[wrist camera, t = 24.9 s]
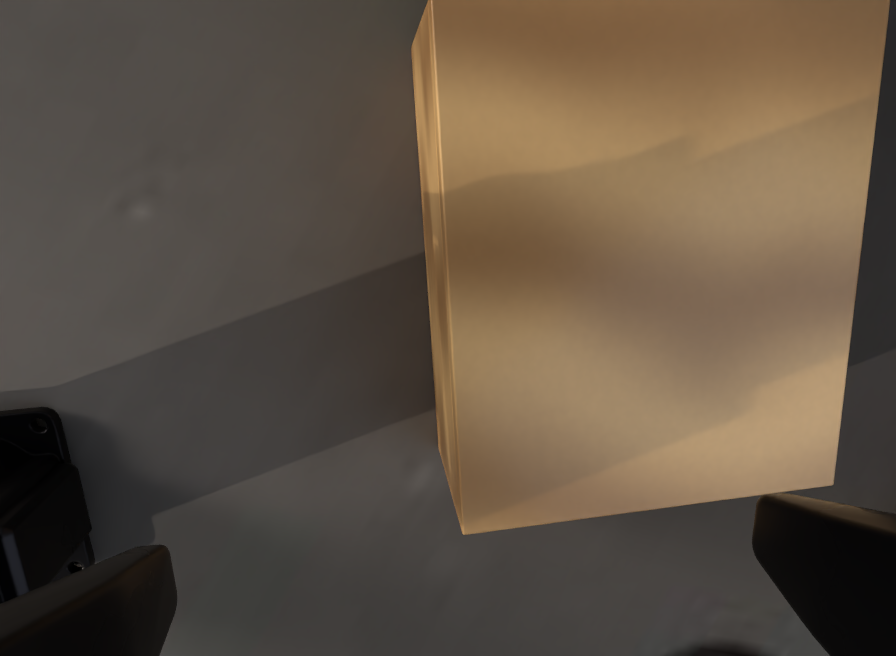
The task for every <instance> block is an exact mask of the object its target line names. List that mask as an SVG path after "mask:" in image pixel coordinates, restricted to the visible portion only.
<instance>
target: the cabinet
mask: <svg viewBox="0 0 896 656" xmlns="http://www.w3.org/2000/svg"><path fill="white" fill-rule="evenodd" d="M889 8H890V0H428V2H427V5H426V8H425V10H424V13H423V16H422V19H421V22H420V24H419V27H418V30H417V33H416V35H415V38H414V41H413V44H412V47H411V52H412V67H413V81H414V96H415V110H416V125H417V139H418V154H419V168H420V183H421V197H422V212H423V226H424V241H425V255H426V270H427V284H428V299H429V314H430V328H431V343H432V357H433V372H434V386H435V401H436V415H437V430H438V444H439V451H440V454H441V458H442V462H443V465H444V469H445V473H446V476H447V480H448V483H449V487H450V490H451V494H452V498H453V501H454V505H455V508H456V512H457V516H458V519H459V522H460V526H461V530H462V533H463V535H467V534H474V533H482V532H489V531H497V530H504V529H511V528H519V527H526V526H534V525H541V524H549V523H556V522H563V521H571V520H578V519H586V518H593V517H600V516H608V515H615V514H623V513H630V512H638V511H645V510H652V509H660V508H667V507H675V506H682V505H690V504H697V503H704V502H712V501H719V500H727V499H734V498H741V497H749V496H756V495H764V494H771V493H779V492H786V491H793V490H801V489H808V488H816V487H823V486H831V485H833V484H834V476H835V467H836V459H837V450H838V442H839V433H840V425H841V416H842V408H843V399H844V391H845V382H846V374H847V365H848V357H849V348H850V340H851V331H852V323H853V314H854V306H855V297H856V289H857V280H858V272H859V263H860V255H861V246H862V238H863V229H864V220H865V212H866V203H867V195H868V186H869V178H870V169H871V161H872V152H873V144H874V135H875V127H876V118H877V110H878V101H879V93H880V84H881V76H882V67H883V59H884V50H885V42H886V33H887V25H888V16H889Z"/></svg>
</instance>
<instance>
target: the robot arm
mask: <svg viewBox="0 0 896 656" xmlns="http://www.w3.org/2000/svg"><path fill="white" fill-rule="evenodd" d="M37 418H39V419H43V420H44V421H45V422H46V423H47V428H44V427H41V426H40V425H39V424H38V423H37ZM91 529H92V527H91V523H90V519H89V514H88V510H87V506H86V502H85V498H84V494H83V489H82V485H81V481H80V477H79V473H78V469H77V468H76V467H75V466H74V465H73V464H72V463H71V459H70V455H69V451H68V447H67V443H66V439H65V435H64V431H63V426H62V422H61V419H60V417H59V415H58V413H57V412H55V411H54V410H53V409H50V408H48V407H37V408H27V409H17V410H7V411H0V656H159V655H160V652H161V650H162V647H163V644H164V642H165V639H166V636H167V633H168V631H169V628H170V625H171V622H172V620H173V617H174V614H175V611H176V606H177V590H176V585H175V579H174V573H173V568H172V562H171V557H170V552H169V550H168V548H167V547H166V546H164V545H149V546H139V547H135V548H133V549H130V550H128V551H125V552H123V553H121V554H118V555H116V556H113V557H111V558H109V559H106V560H104V561H102V562H99V563H97V564H95V559H94V554H93V550H92V546H91V542H90V538H89V533H90V531H91ZM752 545H753V550H754V554H755V556H756V558H757V560H758V561H759V563H760V564H761V566H762V567H763V568H764V570H765V571H766V572H767V574H768V575H769V577H770V578H771V579H772V581H773V582H774V583H775V585H776V586H777V588H778V589H779V590H780V592H781V593H782V594H783V596H784V597H785V599H786V600H787V601H788V603H789V604H790V605H791V607H792V608H793V610H794V611H795V612H796V614H797V615H798V616H799V618H800V619H801V621H802V622H803V623H804V625H805V626H806V627H807V628H808V630H809V631H810V632H811V634H812V635H813V636H814V637H815V639H816V640H817V641H818V642H819V643H820V644H821V646H822V647H823V648H824V649H825V650H826V651H827V653H828V654H829V655H830V656H896V514H893V513H888V512H882V511H877V510H872V509H866V508H861V507H856V506H851V505H845V504H840V503H835V502H829V501H824V500H819V499H813V498H808V497H803V496H798V495H792V494H784V493H781V494H768V495H763V496H761V497H760V498H759V499H758V501H757V505H756V512H755V520H754V529H753V537H752ZM73 562H78V563H80V564H81V565H82V567H77V566H75V565H74V564H73Z"/></svg>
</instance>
